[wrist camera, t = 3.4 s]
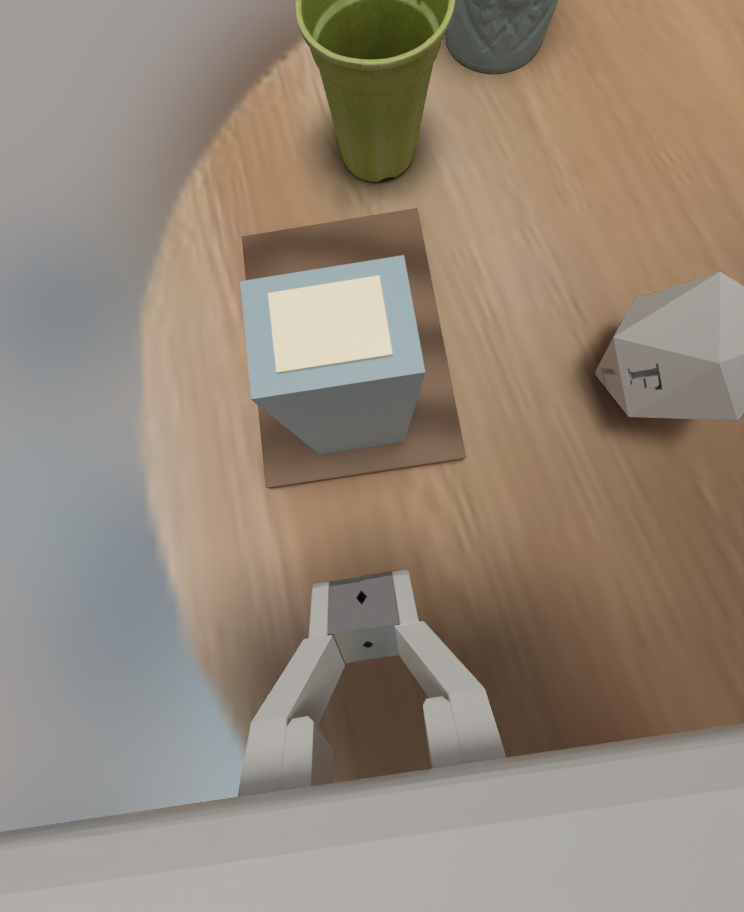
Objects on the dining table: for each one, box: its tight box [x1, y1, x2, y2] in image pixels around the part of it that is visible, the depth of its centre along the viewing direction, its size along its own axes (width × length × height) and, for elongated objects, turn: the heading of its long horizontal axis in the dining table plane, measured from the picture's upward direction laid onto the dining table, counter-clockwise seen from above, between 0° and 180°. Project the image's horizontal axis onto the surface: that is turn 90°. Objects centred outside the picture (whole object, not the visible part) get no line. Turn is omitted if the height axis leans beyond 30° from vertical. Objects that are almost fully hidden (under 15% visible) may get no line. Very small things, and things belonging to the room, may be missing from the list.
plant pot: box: [296, 0, 455, 182], centre depth 24 cm, size 9×9×9 cm
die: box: [594, 272, 744, 421], centre depth 20 cm, size 8×9×10 cm
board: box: [242, 208, 466, 488], centre depth 25 cm, size 20×14×1 cm
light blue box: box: [240, 255, 425, 455], centre depth 17 cm, size 4×6×12 cm
